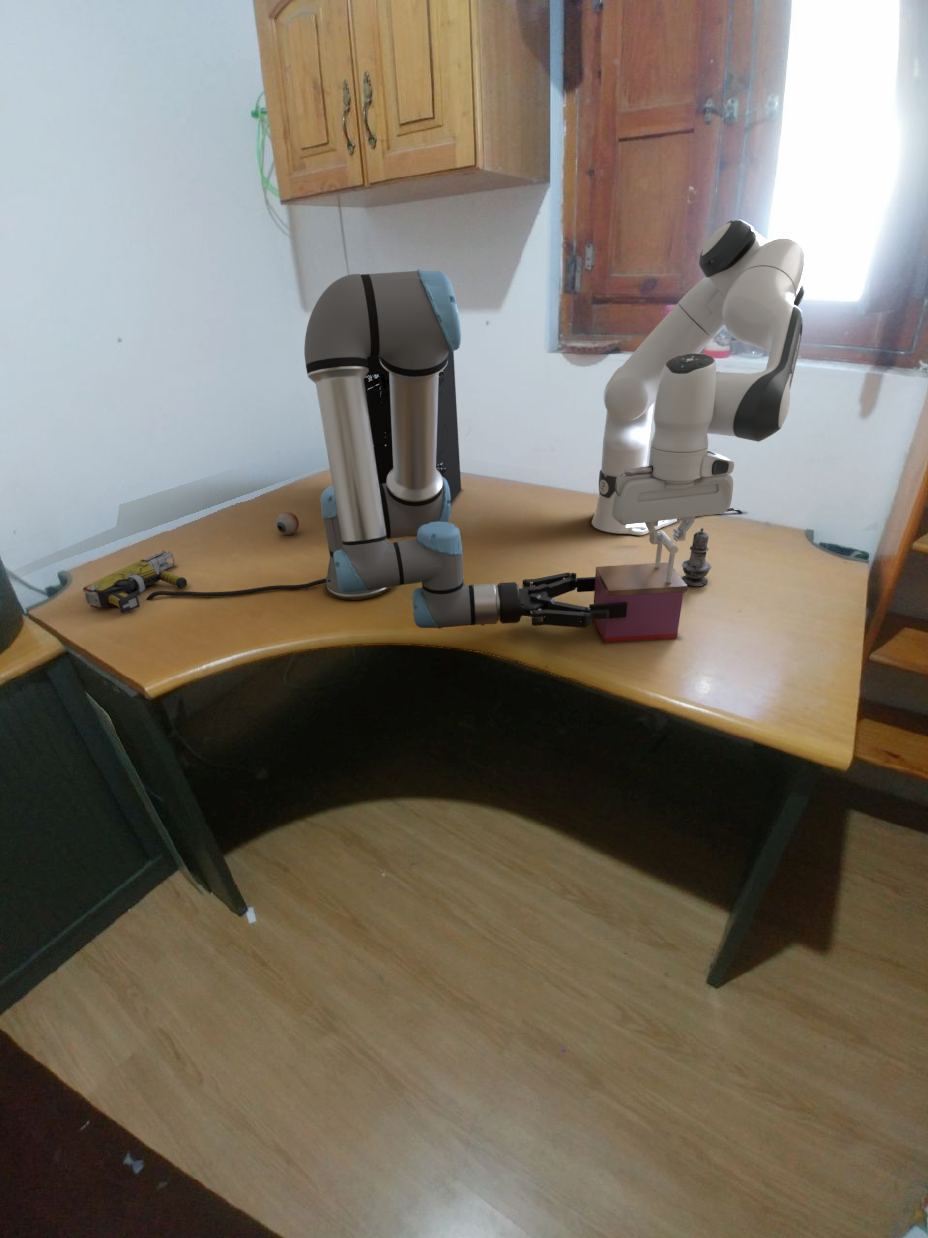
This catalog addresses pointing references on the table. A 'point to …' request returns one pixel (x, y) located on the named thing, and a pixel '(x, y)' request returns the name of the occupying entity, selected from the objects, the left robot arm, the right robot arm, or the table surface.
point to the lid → (644, 575)
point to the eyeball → (287, 523)
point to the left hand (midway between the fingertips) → (618, 595)
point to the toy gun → (131, 583)
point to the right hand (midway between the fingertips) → (666, 541)
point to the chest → (640, 616)
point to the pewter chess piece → (697, 561)
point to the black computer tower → (445, 423)
